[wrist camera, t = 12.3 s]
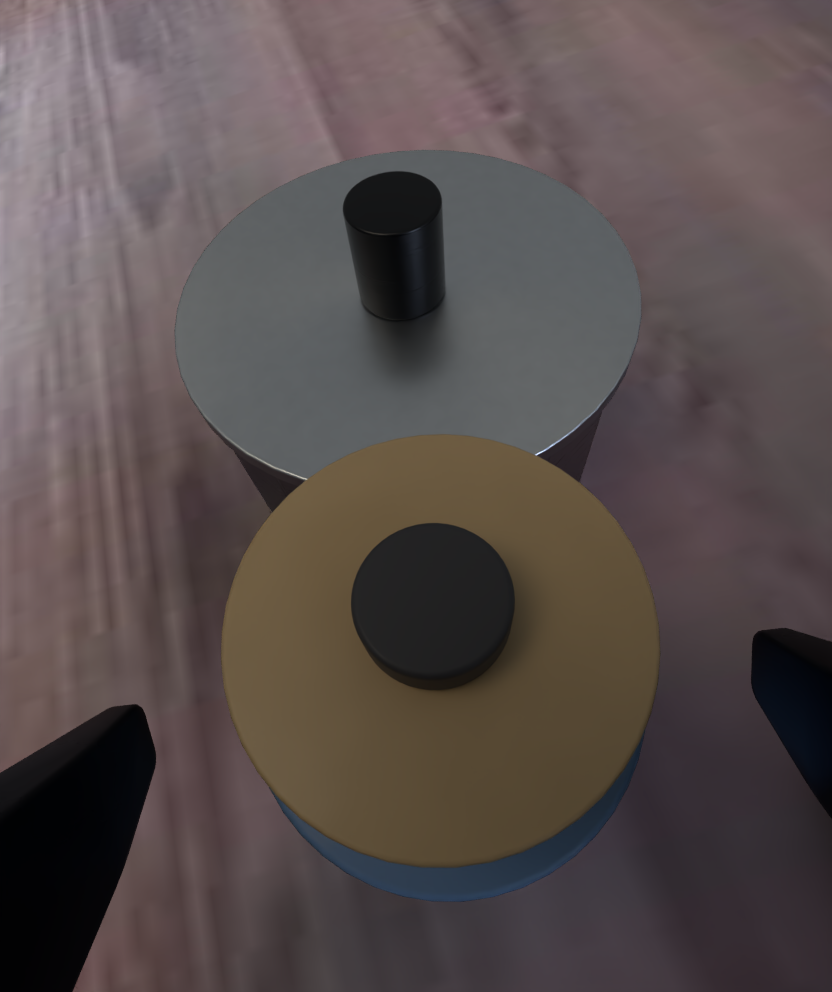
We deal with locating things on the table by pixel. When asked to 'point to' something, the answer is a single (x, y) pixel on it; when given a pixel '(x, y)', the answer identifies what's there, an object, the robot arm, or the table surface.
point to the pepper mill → (442, 664)
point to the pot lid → (407, 312)
